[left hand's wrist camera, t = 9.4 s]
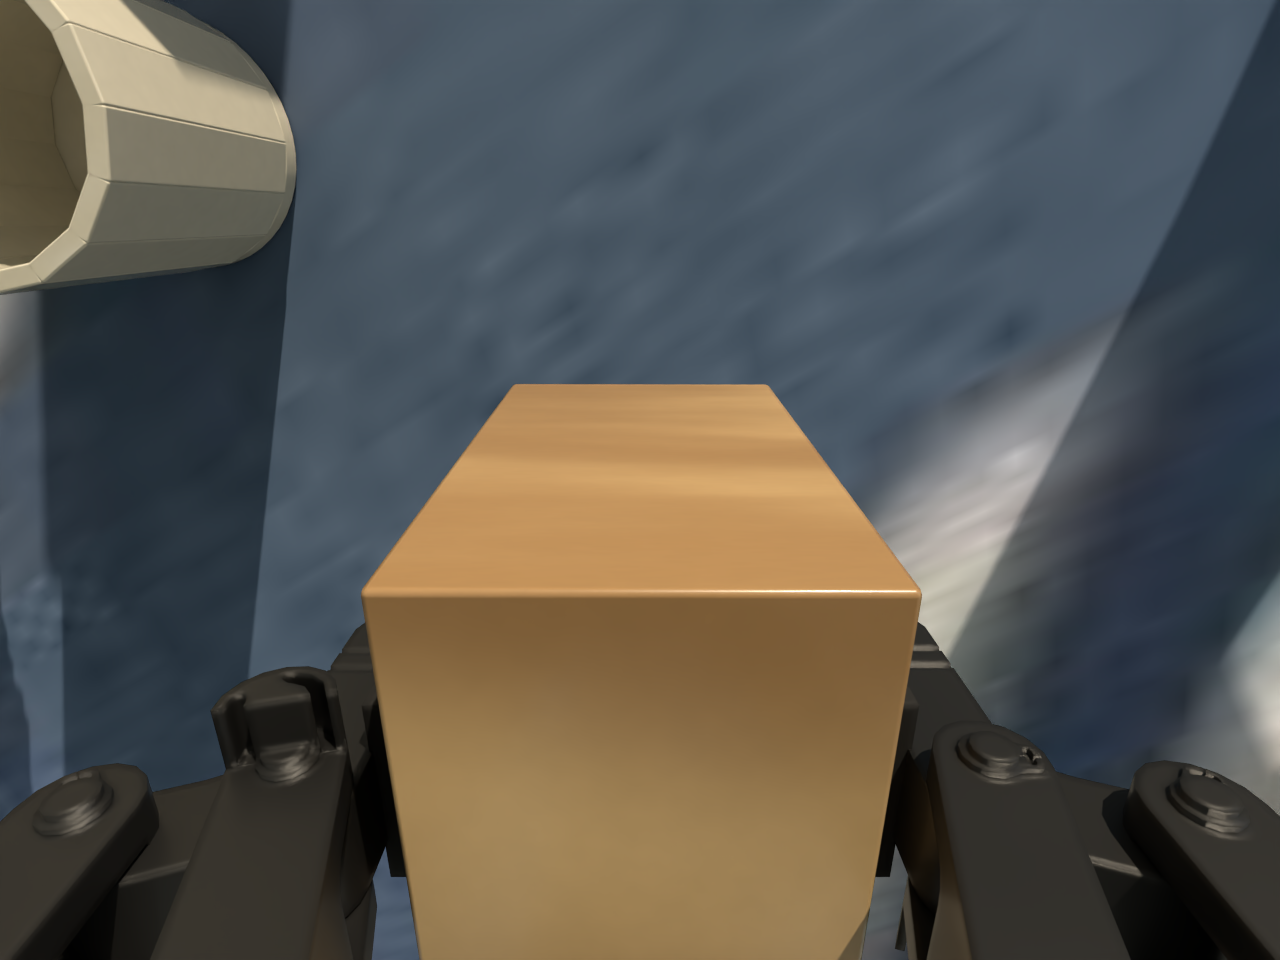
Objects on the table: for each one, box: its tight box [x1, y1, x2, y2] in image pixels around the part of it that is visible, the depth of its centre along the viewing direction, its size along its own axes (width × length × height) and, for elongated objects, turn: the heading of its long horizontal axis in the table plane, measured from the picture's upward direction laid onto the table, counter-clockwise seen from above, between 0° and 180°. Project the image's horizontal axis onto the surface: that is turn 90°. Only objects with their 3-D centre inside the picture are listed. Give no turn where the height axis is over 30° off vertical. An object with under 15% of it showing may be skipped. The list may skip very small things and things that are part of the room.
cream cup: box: [0, 0, 296, 295], centre depth 19 cm, size 8×8×9 cm
